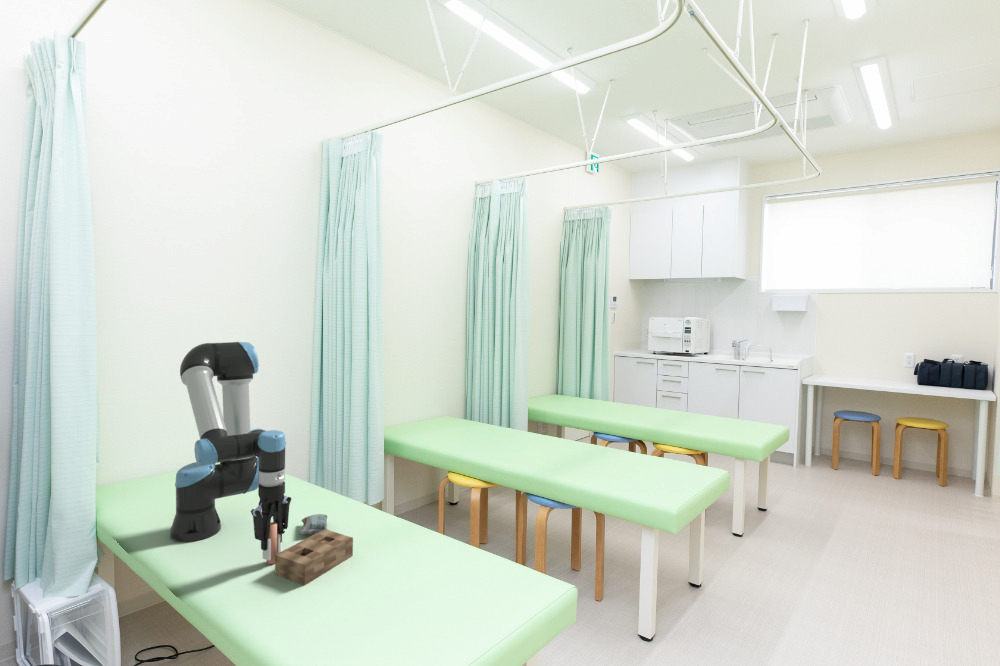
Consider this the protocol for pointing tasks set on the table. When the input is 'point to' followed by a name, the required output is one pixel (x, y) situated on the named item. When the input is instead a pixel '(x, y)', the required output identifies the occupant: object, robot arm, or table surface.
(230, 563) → the table surface
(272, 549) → the dowel
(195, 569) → the table surface
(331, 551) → the bore block
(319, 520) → the packaged food
